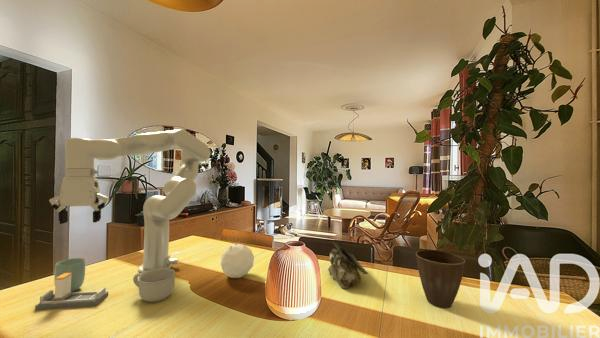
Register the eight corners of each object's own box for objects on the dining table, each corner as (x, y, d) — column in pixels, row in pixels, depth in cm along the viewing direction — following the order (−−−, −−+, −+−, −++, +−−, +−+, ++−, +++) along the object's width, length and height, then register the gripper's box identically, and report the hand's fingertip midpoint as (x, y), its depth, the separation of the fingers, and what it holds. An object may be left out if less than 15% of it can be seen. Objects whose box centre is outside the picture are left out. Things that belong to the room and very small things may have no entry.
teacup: (181, 293, 88) (182, 270, 88) (154, 309, 78) (155, 283, 78) (151, 286, 93) (152, 264, 93) (122, 300, 82) (123, 275, 83)
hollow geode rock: (337, 274, 122) (316, 250, 122) (356, 256, 122) (335, 232, 123) (346, 302, 93) (319, 271, 94) (372, 278, 94) (344, 248, 94)
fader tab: (72, 294, 82) (73, 272, 82) (63, 300, 78) (64, 277, 78) (61, 295, 82) (62, 273, 82) (52, 301, 78) (53, 278, 78)
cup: (65, 297, 83) (67, 266, 84) (47, 294, 85) (49, 264, 85) (89, 287, 91) (91, 259, 91) (72, 284, 92) (73, 257, 93)
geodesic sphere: (235, 274, 92) (249, 238, 100) (206, 267, 97) (221, 234, 105) (252, 285, 103) (263, 253, 111) (224, 279, 108) (237, 248, 116)
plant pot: (446, 319, 77) (447, 266, 77) (405, 297, 90) (406, 252, 91) (474, 308, 84) (474, 260, 84) (432, 289, 97) (433, 248, 98)
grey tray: (108, 295, 86) (108, 285, 86) (96, 305, 79) (96, 295, 79) (52, 298, 82) (53, 288, 82) (34, 309, 75) (35, 299, 76)
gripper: (113, 173, 94) (113, 219, 94) (57, 173, 90) (57, 221, 90) (103, 174, 87) (103, 223, 87) (42, 174, 83) (42, 226, 83)
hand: (80, 222), depth 89 cm, fingers open, 9 cm apart
